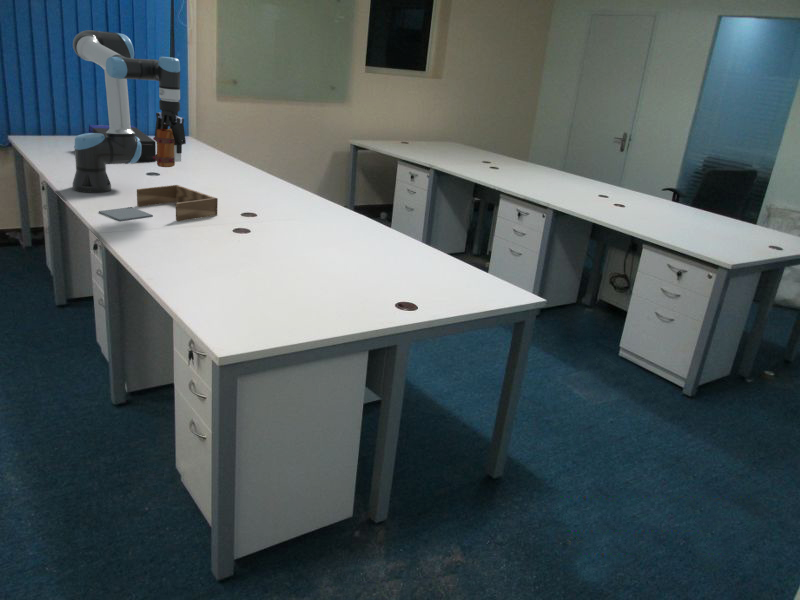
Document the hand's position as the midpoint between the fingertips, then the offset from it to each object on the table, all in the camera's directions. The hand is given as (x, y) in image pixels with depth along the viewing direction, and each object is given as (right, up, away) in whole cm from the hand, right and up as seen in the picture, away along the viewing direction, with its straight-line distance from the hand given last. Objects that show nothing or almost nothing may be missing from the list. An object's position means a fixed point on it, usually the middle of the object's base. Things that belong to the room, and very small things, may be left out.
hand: (170, 159), depth 255 cm
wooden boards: (-1, -19, +9) cm, 21 cm away
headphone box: (-62, +23, +99) cm, 119 cm away
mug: (-1, -2, +1) cm, 3 cm away
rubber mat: (-16, -23, -5) cm, 28 cm away
